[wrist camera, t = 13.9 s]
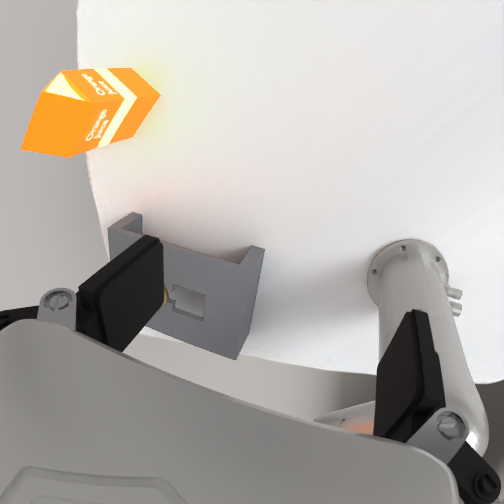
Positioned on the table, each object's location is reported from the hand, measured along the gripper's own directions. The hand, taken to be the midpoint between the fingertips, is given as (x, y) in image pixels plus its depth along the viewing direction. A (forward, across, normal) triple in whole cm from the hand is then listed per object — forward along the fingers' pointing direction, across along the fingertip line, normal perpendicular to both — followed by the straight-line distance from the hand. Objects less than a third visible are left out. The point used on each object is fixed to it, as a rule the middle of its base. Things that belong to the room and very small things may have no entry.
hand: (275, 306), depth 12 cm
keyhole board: (+33, +19, +26) cm, 46 cm away
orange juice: (+34, +32, -3) cm, 46 cm away
